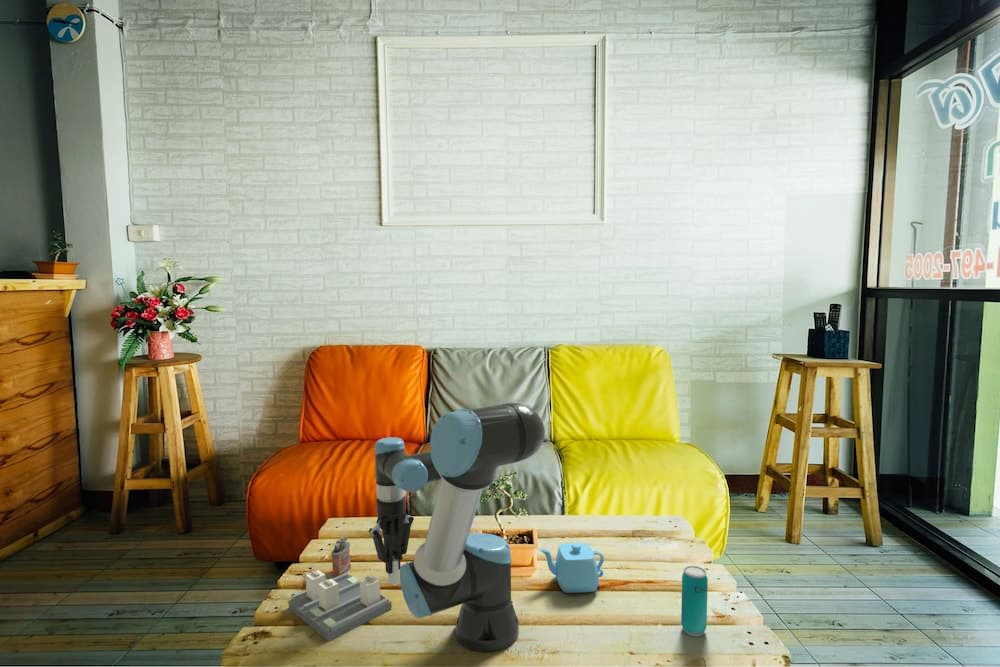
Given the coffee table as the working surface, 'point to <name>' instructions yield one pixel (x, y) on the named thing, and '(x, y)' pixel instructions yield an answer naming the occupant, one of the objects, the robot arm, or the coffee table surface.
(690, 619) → the beverage can
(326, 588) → the white rectangular block
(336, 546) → the lighter
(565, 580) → the teapot
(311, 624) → the grey slotted block holder
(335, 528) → the coffee table surface
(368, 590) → the white hollow block
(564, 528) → the coffee table surface
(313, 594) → the white hollow block
